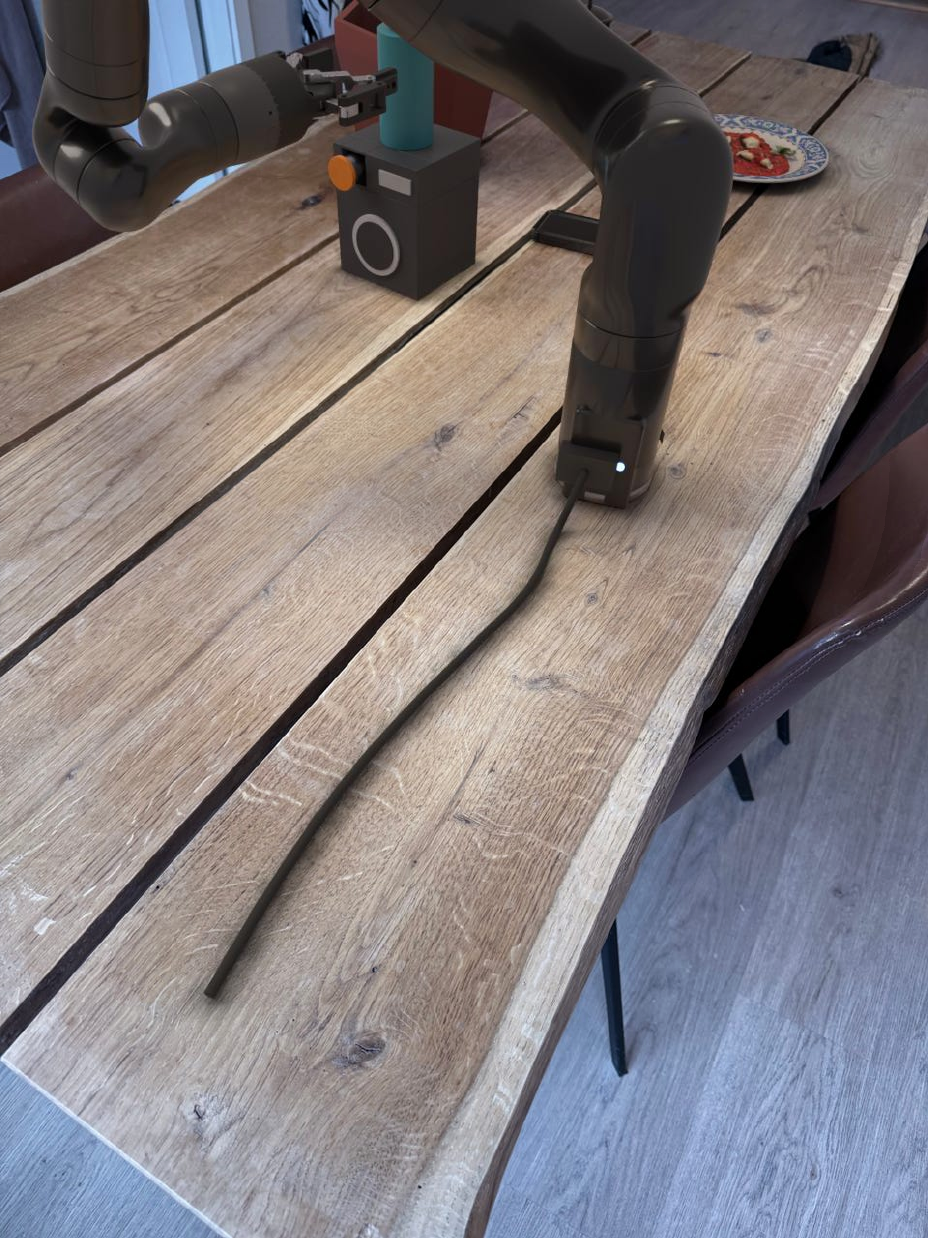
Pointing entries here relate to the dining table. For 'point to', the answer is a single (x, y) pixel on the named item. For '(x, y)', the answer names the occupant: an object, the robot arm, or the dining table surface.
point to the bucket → (453, 94)
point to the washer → (410, 210)
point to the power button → (347, 170)
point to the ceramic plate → (771, 150)
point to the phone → (566, 230)
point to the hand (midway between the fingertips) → (362, 68)
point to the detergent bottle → (406, 93)
